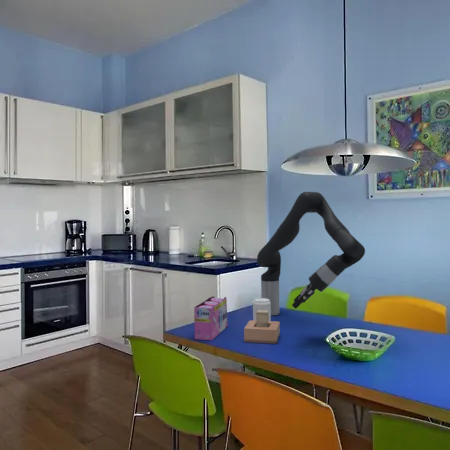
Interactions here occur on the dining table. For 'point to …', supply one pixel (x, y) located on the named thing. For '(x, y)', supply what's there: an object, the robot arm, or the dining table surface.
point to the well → (262, 332)
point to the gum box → (210, 318)
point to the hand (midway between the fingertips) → (294, 304)
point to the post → (262, 318)
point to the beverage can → (261, 307)
